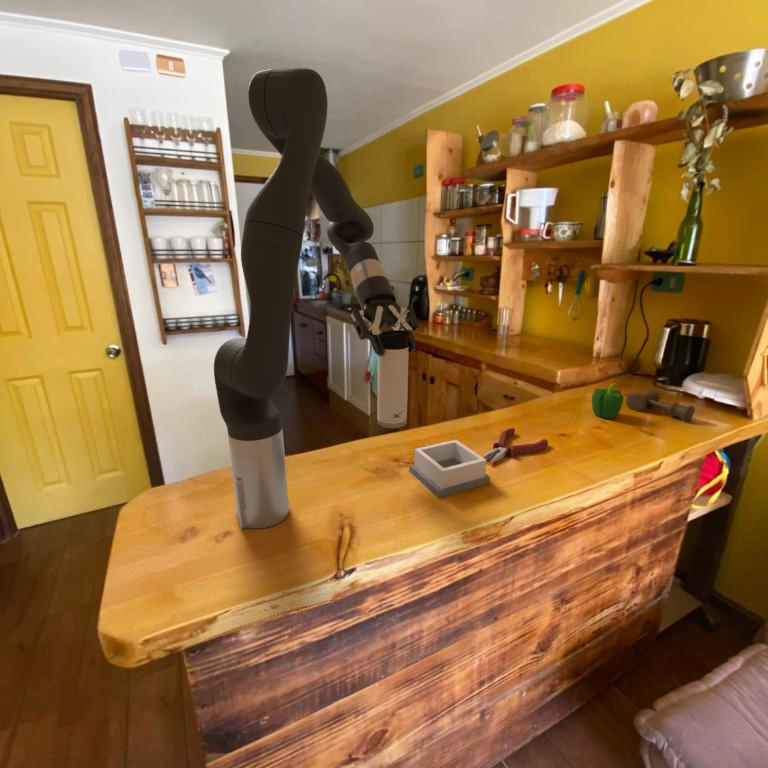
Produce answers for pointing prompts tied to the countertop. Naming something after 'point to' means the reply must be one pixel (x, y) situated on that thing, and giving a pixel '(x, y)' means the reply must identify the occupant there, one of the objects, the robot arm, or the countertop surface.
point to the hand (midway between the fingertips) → (397, 352)
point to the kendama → (658, 404)
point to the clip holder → (449, 468)
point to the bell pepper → (607, 402)
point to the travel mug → (393, 379)
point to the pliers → (512, 447)
